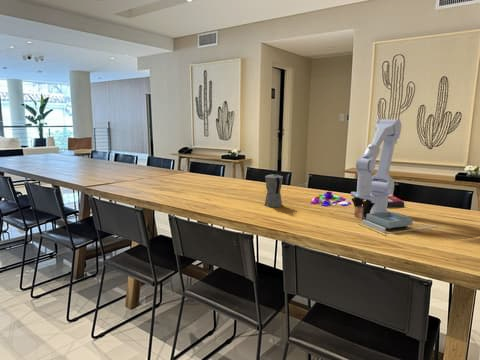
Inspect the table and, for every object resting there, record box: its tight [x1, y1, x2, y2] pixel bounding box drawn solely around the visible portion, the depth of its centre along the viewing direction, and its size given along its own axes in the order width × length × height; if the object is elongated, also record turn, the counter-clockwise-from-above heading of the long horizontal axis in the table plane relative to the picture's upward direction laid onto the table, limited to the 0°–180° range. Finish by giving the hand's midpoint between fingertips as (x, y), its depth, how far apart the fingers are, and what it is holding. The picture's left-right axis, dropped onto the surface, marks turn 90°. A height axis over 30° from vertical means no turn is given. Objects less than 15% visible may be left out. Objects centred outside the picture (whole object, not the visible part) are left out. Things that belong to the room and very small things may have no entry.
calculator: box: [387, 193, 405, 208], centre depth 181 cm, size 11×4×15 cm
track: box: [357, 219, 438, 237], centre depth 142 cm, size 16×28×3 cm, turn 111°
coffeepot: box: [264, 170, 284, 208], centre depth 174 cm, size 15×9×18 cm, turn 10°
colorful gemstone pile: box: [310, 190, 352, 207], centre depth 185 cm, size 25×20×4 cm
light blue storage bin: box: [365, 210, 414, 231], centre depth 140 cm, size 12×12×4 cm
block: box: [354, 205, 366, 220], centre depth 152 cm, size 4×4×5 cm
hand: (362, 215), depth 152 cm, fingers closed on block, 4 cm apart
